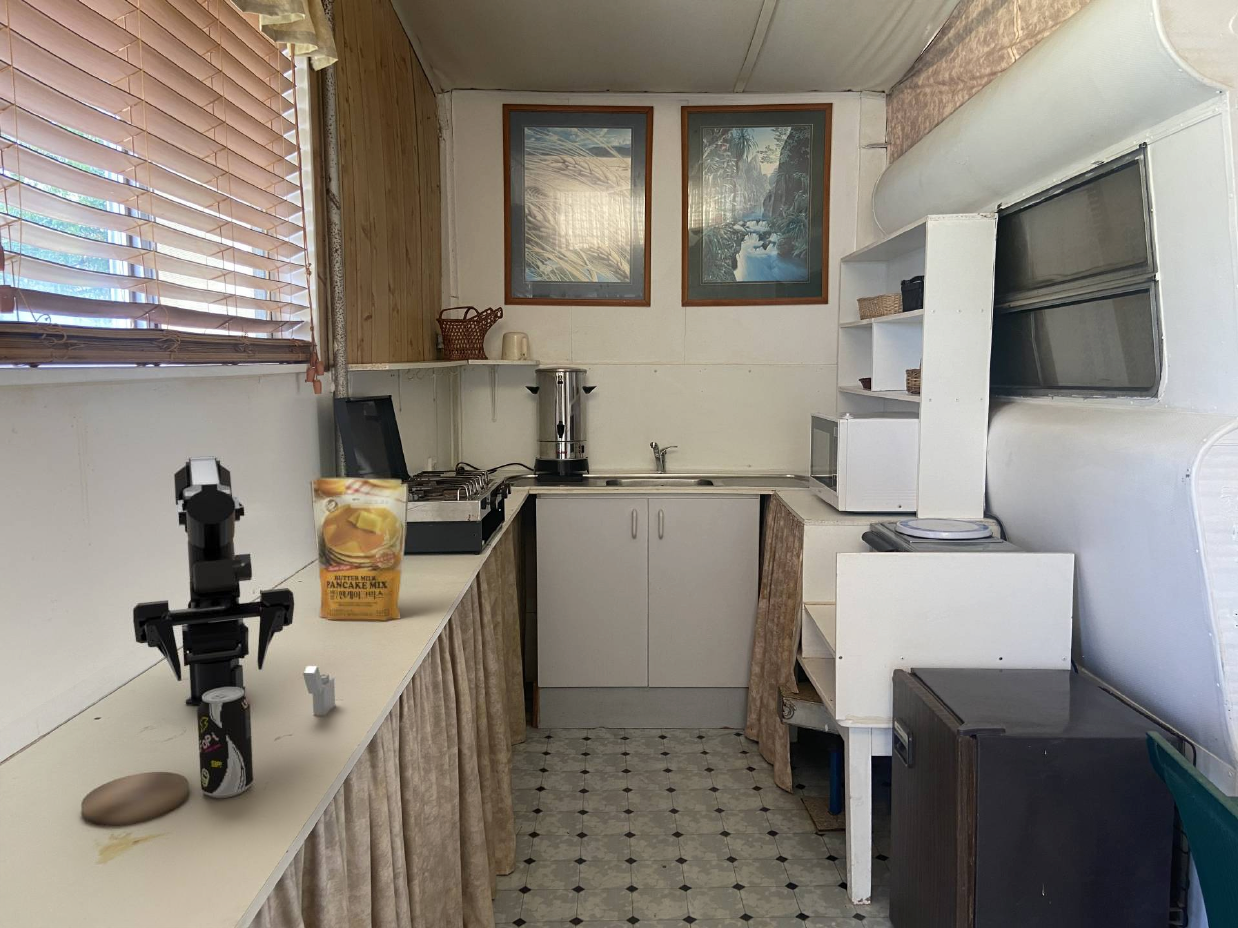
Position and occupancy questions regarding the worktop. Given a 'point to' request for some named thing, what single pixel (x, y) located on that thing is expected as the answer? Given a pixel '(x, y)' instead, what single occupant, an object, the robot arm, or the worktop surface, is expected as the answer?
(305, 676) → the lighter
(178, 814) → the worktop surface
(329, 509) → the pancake mix bag
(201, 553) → the robot arm
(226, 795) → the beverage can
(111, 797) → the bronze round coaster
